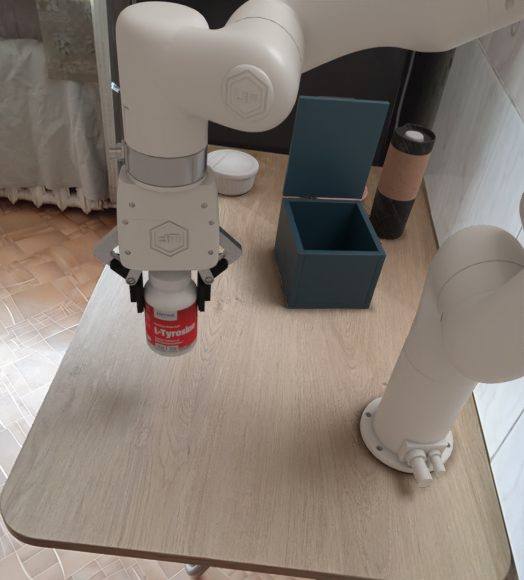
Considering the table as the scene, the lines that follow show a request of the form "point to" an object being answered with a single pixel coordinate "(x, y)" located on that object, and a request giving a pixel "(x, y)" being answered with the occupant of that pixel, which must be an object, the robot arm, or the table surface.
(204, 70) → the robot arm
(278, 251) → the chest
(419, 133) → the travel mug
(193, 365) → the table surface
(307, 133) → the lid
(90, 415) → the table surface
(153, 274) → the pill bottle
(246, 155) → the ramekin
